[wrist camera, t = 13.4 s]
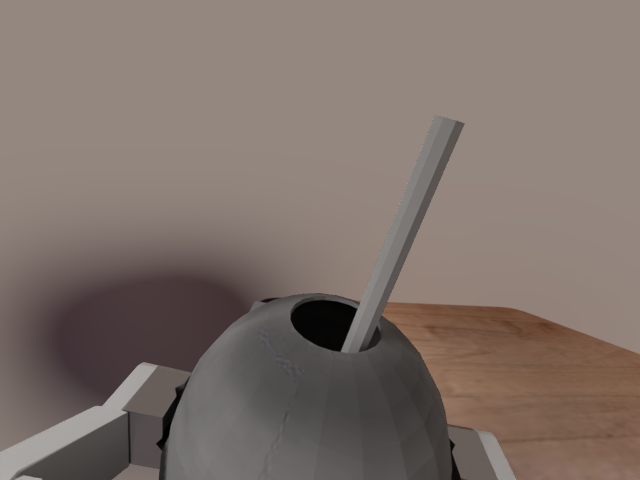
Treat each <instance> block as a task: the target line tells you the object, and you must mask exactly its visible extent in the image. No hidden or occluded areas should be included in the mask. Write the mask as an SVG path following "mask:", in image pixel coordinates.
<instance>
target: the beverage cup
mask: <svg viewBox="0 0 640 480" xmlns="http://www.w3.org/2000/svg"><path fill="white" fill-rule="evenodd" d="M463 126H464V123H462V122H459V121H456V120H452V119H449V118H445V117H442V116H437V115H435V116H434V119H433V122H432V124H431V126H430V129H429V131H428V134H427V136H426V139H425V141H424V144H423V147H422V149H421V152H420V154H419V157H418V159H417V162H416V164H415V167H414V169H413V172H412V174H411V177H410V179H409V182H408V184H407V187H406V189H405V192H404V194H403V197H402V199H401V202H400V204H399V207H398V210H397V212H396V214H395V217H394V219H393V222H392V225H391V227H390V229H389V232H388V234H387V237H386V240H385V242H384V245H383V247H382V249H381V252H380V255H379V257H378V260H377V262H376V265H375V267H374V270H373V273H372V275H371V277H370V280H369V282H368V285H367V287H366V290H365V292H364V295H363V297H362V300H361V302H360V303H359V302H357V301H354V300H351V299H347V298H344V297H340V296H337V295H329V294H322V293H315V294H299V295H292V296H289V297H284V298H280V299H276V300H273V301H271V302H269V303H266V304H264V305H262V306H260V307H258V308H256V309H255V310H253V311H251V312H249V313H247V314H245V315H243V316H242V317H241V318H239V319H238V320H237V321H235V322H234V323H233V324H231V325H230V327H229V328H228V329H227V330H226V331H225V332H224V333H223V334H222V335H221V336H220V337H219V338H218V339H217V340H216V341H215V342H214V343H213V344H212V346H211V347H210V348H209V349H208V350H207V351H206V352H205V354H204V355H203V356H202V357H201V358H200V360H199V362H198V364H197V365H196V367H195V369H194V371H193V372H192V374H191V376H190V379H189V381H188V383H187V386H186V388H185V390H184V393H183V395H182V397H181V399H180V402H179V404H178V406H177V409H176V412H175V415H174V418H173V421H172V423H171V427H170V434H169V436H168V439H167V441H166V444H165V446H164V449H163V451H162V454H161V458H160V472H159V480H451V475H452V461H451V449H450V441H449V434H448V427H447V421H446V414H445V409H444V406H443V402H442V399H441V395H440V392H439V390H438V388H437V386H436V384H435V382H434V380H433V378H432V377H431V375H430V373H429V371H428V369H427V367H426V365H425V363H424V361H423V359H422V357H421V355H420V353H419V352H418V351H417V349H416V348H415V347H414V346H413V345H412V343H411V342H410V341H409V340H408V339H407V338H406V337H405V335H404V334H403V333H402V332H401V331H400V330H399V329H398V328H397V327H396V326H395V325H394V324H393V323H391V322H390V321H388V320H387V319H386V318H384V317H383V316H381V315H382V312H383V310H384V308H385V306H386V303H387V301H388V299H389V296H390V294H391V292H392V289H393V287H394V285H395V282H396V280H397V278H398V276H399V273H400V271H401V269H402V266H403V264H404V262H405V259H406V257H407V255H408V253H409V250H410V248H411V246H412V243H413V241H414V238H415V236H416V234H417V232H418V230H419V227H420V225H421V223H422V220H423V218H424V216H425V213H426V211H427V209H428V207H429V204H430V202H431V199H432V197H433V195H434V193H435V190H436V188H437V186H438V184H439V181H440V179H441V176H442V174H443V172H444V170H445V167H446V165H447V163H448V161H449V158H450V156H451V154H452V151H453V149H454V147H455V144H456V142H457V140H458V138H459V135H460V133H461V131H462V128H463Z"/></svg>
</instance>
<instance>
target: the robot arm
mask: <svg viewBox="0 0 640 480" xmlns="http://www.w3.org/2000/svg"><path fill="white" fill-rule="evenodd" d="M191 374H192V373H190V372H186V371H181V370H177V369H173V368H168V367H164V366H158V365H154V364H149V363H145V362H143V363H142V364H140V365H138V366H137V367H136V368H135V370H134V371H133V372H132V373H131V374H130V375H129V376H128V377H127V379H126V380H125V381H124V382H123V383H122V384H121V385H120V387H119V388H118V389H117V390H116V391H115V392H114V393H113V394H112V396H111V397H110V398H109V399H108V400H107V401H106V402H105V403H104V405H103V406H102V407H101V406H94V407H93V408H90V409H88V410H86V411H84V412H82V413H80V414H78V415H76V416H74V417H72V418H70V419H68V420H66V421H64V422H61V423H60V424H57V425H55V426H53V427H52V428H49V429H47V430H45V431H43V432H41V433H39V434H37V435H35V436H33V437H31V438H28V439H27V440H24V441H22V442H20V443H18V444H16V445H14V446H12V447H10V448H8V449H6V450H4V451H2V452H0V480H112V479H113V478H114V477H116V476H117V475H118V474H119V473H121V472H122V471H123V470H124V469H126V468H127V467H128V466H129V464H133V465H139V466H145V467H151V468H156V469H160V458H161V454H162V451H163V449H164V446H165V444H166V441H167V439H168V436H169V434H170V427H171V423H172V421H173V418H174V415H175V412H176V409H177V406H178V404H179V402H180V399H181V397H182V395H183V393H184V390H185V388H186V386H187V383H188V381H189V379H190V376H191ZM447 427H448V434H449V441H450V449H451V461H452V475H451V480H517V479H516V477H515V475H514V473H513V471H512V469H511V467H510V465H509V463H508V461H507V459H506V457H505V455H504V453H503V451H502V449H501V447H500V445H499V443H498V441H497V439H496V437H495V436H494V435H493V434H492V433H491V432H487V431H482V430H477V429H471V428H466V427H461V426H456V425H450V424H447Z"/></svg>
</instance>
